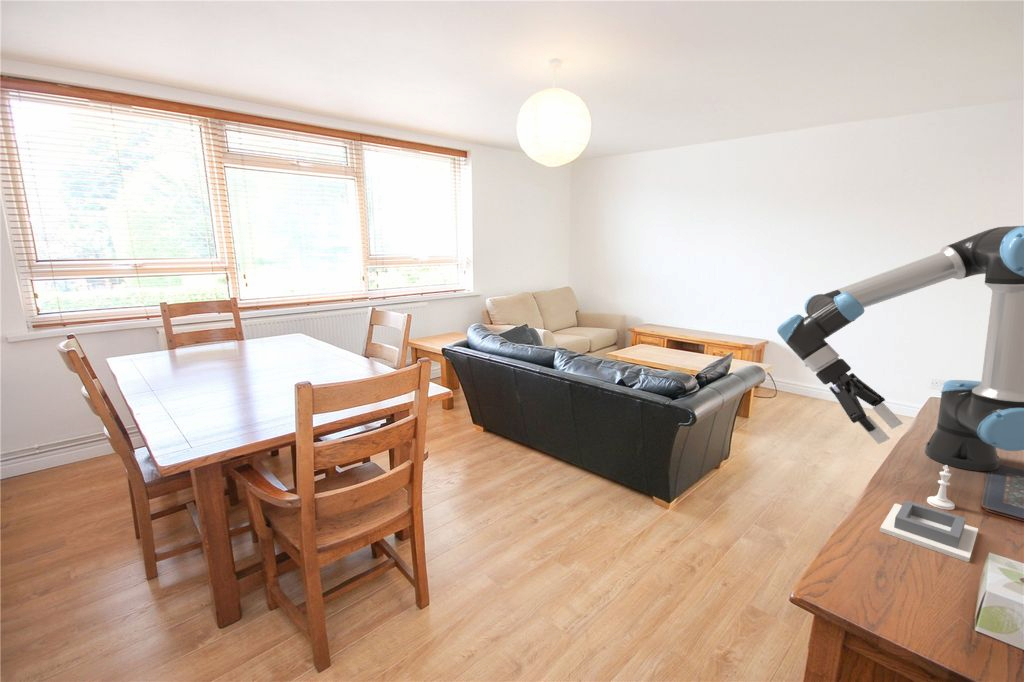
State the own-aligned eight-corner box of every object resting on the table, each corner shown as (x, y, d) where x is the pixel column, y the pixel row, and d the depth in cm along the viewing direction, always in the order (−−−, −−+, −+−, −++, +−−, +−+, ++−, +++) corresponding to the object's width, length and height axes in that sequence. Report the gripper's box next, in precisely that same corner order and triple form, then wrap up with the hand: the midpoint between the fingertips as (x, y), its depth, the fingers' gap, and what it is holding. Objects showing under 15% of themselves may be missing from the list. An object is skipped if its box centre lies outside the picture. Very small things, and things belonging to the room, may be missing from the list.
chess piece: (947, 500, 111) (953, 462, 109) (959, 511, 106) (966, 471, 104) (922, 497, 113) (928, 459, 111) (933, 508, 108) (939, 469, 106)
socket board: (894, 507, 109) (896, 493, 108) (977, 532, 98) (980, 518, 98) (879, 531, 100) (881, 516, 99) (969, 562, 90) (971, 546, 89)
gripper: (829, 364, 133) (888, 427, 125) (798, 382, 118) (863, 455, 109) (853, 349, 128) (916, 413, 120) (824, 366, 113) (894, 441, 104)
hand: (891, 433), depth 115 cm, fingers open, 13 cm apart
